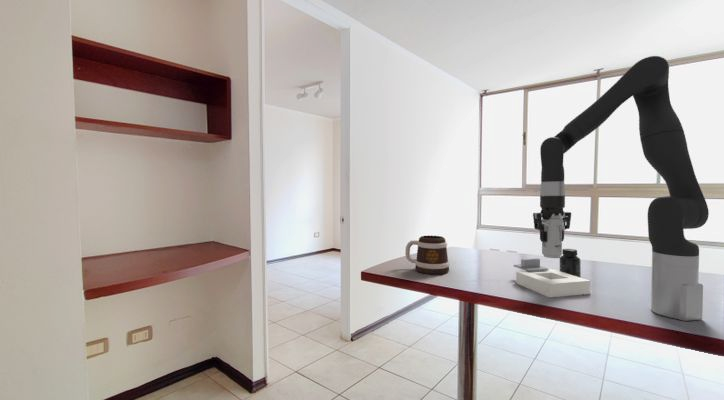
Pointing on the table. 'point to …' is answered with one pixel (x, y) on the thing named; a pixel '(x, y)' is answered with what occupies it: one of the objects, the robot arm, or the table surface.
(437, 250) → the mug
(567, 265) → the supplement bottle
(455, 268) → the table surface
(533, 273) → the socket plate
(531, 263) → the grey stepped block
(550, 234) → the energy drink can
